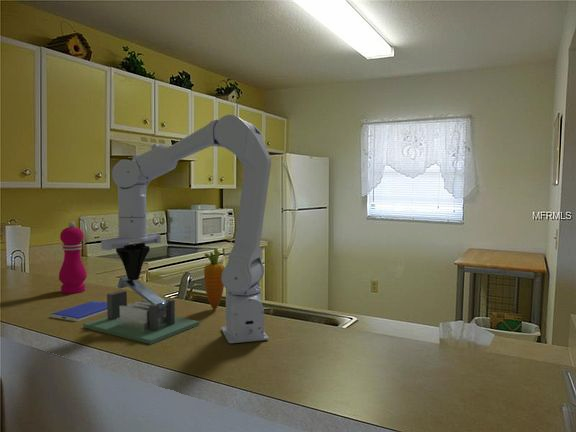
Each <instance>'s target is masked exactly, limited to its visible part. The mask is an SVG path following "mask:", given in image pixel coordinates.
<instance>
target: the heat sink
mask: <svg viewBox="0 0 576 432" xmlns="http://www.w3.org/2000/svg"><path fill="white" fill-rule="evenodd" d="M149 305H152V304H150V303H149V302H148V301H146V300H145V299H144V298H142V299H141V301H137V300H136V301H134V303H130V302H129V303H127V306H123V305H121V306H120V317H118V318H117V325H118V326H123V327H127V328H131V329H136V330H140V331H144V332H145V331H147V330H150V324H149ZM164 324H167V318H166V307H165V308H162V309H159V310H158V326H161V325H164Z"/></svg>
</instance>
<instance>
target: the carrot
mask: <svg viewBox="0 0 576 432" xmlns="http://www.w3.org/2000/svg"><path fill="white" fill-rule="evenodd" d="M204 256H205V257H207V258H208V259H209V262H210V263H208V264H206V265H204V270H203V272H204V273H203V275H204V288H205V293H206V297H207V300H208V301H209V304H210V307H211V308H212V309H213V310H216V309H217V308H218V306H219V305H220V302H221V300H222V297H223V294H224V288H225V287H224V285H223V283H222V277H221V276H222V272H223V270H224V268H225V266H224V264H221V263H218V261H219V257H220V256H221V252H220V251H219V249H218V248H213V252H212V251H211V252H209V254H208V253H206V252H205V253H204Z"/></svg>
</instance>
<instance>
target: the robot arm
mask: <svg viewBox="0 0 576 432" xmlns="http://www.w3.org/2000/svg"><path fill="white" fill-rule="evenodd" d="M210 147H217V148H218V147H219V148H224V149H227V150H228V151H229V152H231V153H232V154H234V155H235V157H236V158H237V159H238V160H239V162H240V163H241V165H243V167H244V171H243V178H242V185H241V192H240V200H239V207H238V213H237V215H238V216H237V224H236V230H235V238H234V244H233V246H232V249H231V250H230V253H229V255H228V260H227V264H226V265H225V266H224V270H223V272H222V276H221V277H222V283H223V285H224V288H225V326H221V331H222V332H223V334H224V337H225V338H226V340H227V342H228V344H238V343H249V342H250V343H251V342H258V341H259V342H260V341H268V340H269V339H270V337H269V336H268V335H267V333H266V332H265V309H264V306H263V304H262V287H261V285H260V281H261V280H262V279H263V277H264V275H265V268H264V265H263V260H262V258H263V251H262V248H261V246H260V245H261V237H262V231H263V225H264V219H265V217H264V216H265V209H266V203H267V196H268V195H267V194H268V190H269V189H268V188H269V181H270V174H271V168H272V157H271V156H270V152H269V150H268V148H267V146H266V143H265V141H264V139H263V133H262V132H261V131H260V130H259V129H258V128H257V127H256V126H255V125H254V124H253V123H251V122H250V121H246V120H245V119H242V118H240V117H238V116H237V115H234V114H226V115H224V116H222V117H220V118H219V119H214V120H212V121H210V122H209V123H207V124H205V126H203V127H201V128H200V129H197V130H196V131H194V132H193V133H191V134H189V135H187V136H186V137H184V138H182V139H180V140H179V141H177V142H176V143H173V144H172V145H170V146H169V145H167V144H163V143H162V144H157V143H154V144H152V145H151V146H150V148H151V149H150V150H149V149H148V151H145V152H144V153H142V154H140V155H139V154H135V155H133V156H132V159H131V160H129V159H120V160H119V161H118V162H117V163H116V164H115V165H114V166H113V167H112V171H111V178H112V181H113V182H114V183H115V185H116V186H117V209H118V211H117V212H118V214H117V215H118V216H117V219H118V220H117V221H118V222H117V223H118V236H117V237H114V238H108V239H102V240H101V242H100V244H101V245H100V246H101V247H100V248H101V250H102V251H112V250H115V252H116V253H117V254H118V256H119V258H120V260H121V262H122V264H123V267H124V271H125V274H126V276H127V278H128V279H129V280H139V279H140V276H141V271H142V267H143V264H144V261H145V260H146V257H147V255H148V253H149V252H150V251H151V250H150V249H151V248H150V246H148V245H150V244H151V245H152V244H161V243H162V241H161V240H162V237H161V234H158V233H153V234H148V233H147V194H148V192H147V189H148V186H149V184H150V182H151V181H152V180H155V179H156V178H159V177H161V176H163V175H165V174H167V173H169V172H170V171H171V172H172V171H173V170H175V169H176V167H177V164H178V162H179V161H180V160H183V159H184V158H187V157H189V156H192V155H194V154H196V153H198V152H200V151H203V150H205V149H207V148H210Z"/></svg>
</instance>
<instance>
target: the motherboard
mask: <svg viewBox="0 0 576 432" xmlns="http://www.w3.org/2000/svg"><path fill="white" fill-rule="evenodd" d="M199 325H200V321H199V320H194V319H190V318H185V317H180V316H175V324H173V325H168V324H164V325H161V326H158V330H157V331H150V330H147V331H145V332H144V331H140V330H136V329H131V328H127V327H123V326H118V325H117V319H114V320H110V319H107V316H105V317H102V318H99V319H94V320H92V321H88V322H85V323H83V325H82V327H83V328H85V329H87V330H92V331H96V332H100V333H104V334H109V335H111V336H112V335H113V336H116V337H120V338H125V339H128V340H133V341H136V342H139V343H143V344H144V343H145V344H148V345H153V344H155V343H158V342H161V341H162V340H165V339H168V338H170V337H172V336H175V335H178V334H180V333H183V332H186V331H188V330H191V329H192V327H193V328H195V327H197V326H199ZM187 329H188V330H187ZM182 331H183V332H182Z"/></svg>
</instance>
